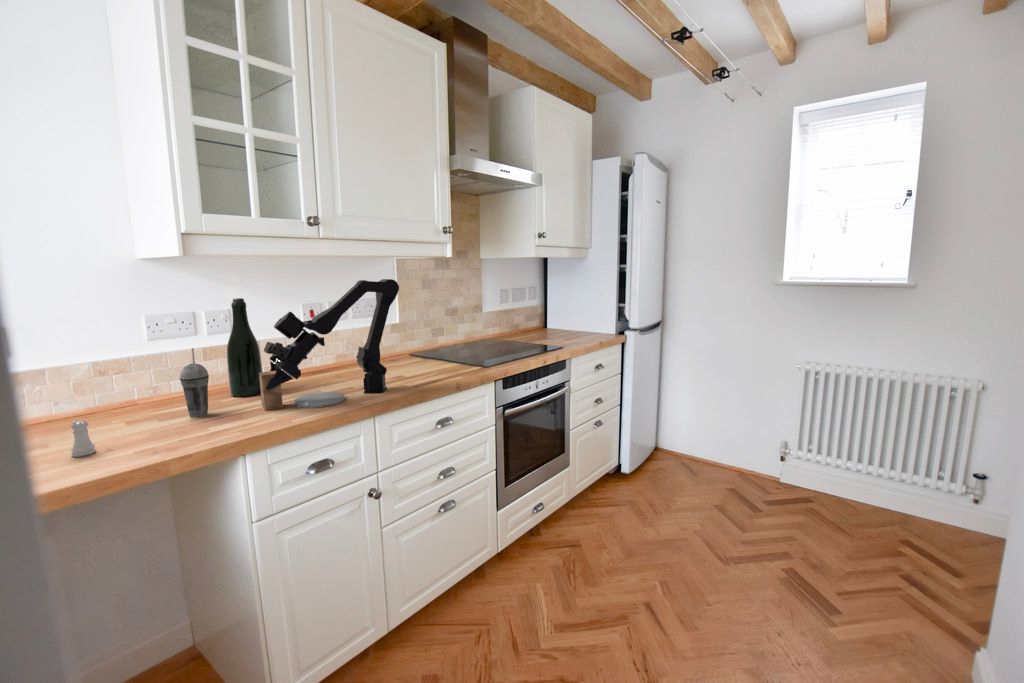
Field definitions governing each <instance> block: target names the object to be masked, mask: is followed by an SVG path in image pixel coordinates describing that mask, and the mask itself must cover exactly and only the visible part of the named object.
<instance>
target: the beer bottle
mask: <svg viewBox="0 0 1024 683" xmlns="http://www.w3.org/2000/svg"><path fill="white" fill-rule="evenodd" d="M230 307H231V310H232V326H231V331H230V335H229V338H228V342H227V344H226V360H227V363H226V364H227V374H228V385H229V386H228V387H229V394H230V395H231V396H232V397H234V396H236V397H235V398H245V397H244V396H247V397H252V395H253V396H256V394H257V395H261V389H260V378H259V373H261V372H264V371H263V364H262V355H261V350H260V345H259V343H258V342H259V341H257V338H256V336H255V334H254V332H253V330H252V329H251V326H250V323H249V318H248V312H247V303H246V301H245V299H244V298H242V297H238V298H237V297H236V298H232V302H231V305H230Z"/></svg>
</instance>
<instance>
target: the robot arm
mask: <svg viewBox="0 0 1024 683" xmlns="http://www.w3.org/2000/svg"><path fill="white" fill-rule="evenodd" d="M399 290H400V285H399V283H398V282H397V281H396V280H395V279H389V278H383V279H380V280H379V281H373V280H371V281H369V280H366V279H365V280H364V279H363V280H362V279H360V280H358V281H356V283H355V284H354V285H353V286H352V287H351V288H350V289H348V291H347V292H345V293H344V295H342V296H341V297H340V298H339V299H338V300H337V301H336V302H335V303H334V304H333V305H331V306H330V307H329V308H327V309H325V310H323V311H322V312H319V313H318V314H317V315H315V316H314V317H312V319H310V320H304V321H302V320H301V319H299V317H297V316H296V315H295V314H294V313H293V312H292V311H288V312H287V313H286V314H284V315H283V316H282V317H280V318H279V319H278V320H276V323H275V324H274V325H273V328H274V329H275V330H277V331H279V333H281V334H282V335H283V336H285V337H286V338H287V339H288V340H290V339H292V338H293V339H294V341H293V342H292V343H291V344H287V345H286V346H283V343H280V342H279V341H276V342H275V343H274V342H270V341H266V344H265V346H264V348H263V352H264V353H266V354H269V355H271V356H270V357H269V359H268V360H270V361H269V363H270V370H269V371H276V373H275V374H274V376H273V378H272V379H271V381H270V382H269V384H268V385H267V387H266V389H267V390H271V389H273V388H275V387H277V386H279V385H281V386H282V384H285V383H287V382H289V381H291V380H294V379H296V380H298V379H299V378H300V377H301V375H302V370H301V369H299V365H300V364H301V363H302V362H303V361H304V360H307V359H308V355H309V354H310V353H311V352H312V350H314V349H315V347H316V346H317V345H318V344H319V345H320V346H322V347H325V346H326V345H325V337H322V336H321V337H320V336H318V335H319V334H320V335H328V334H330V333H331V332H332V331H333V329H334V328H335V327H336V325H337V324H338V322H339V321H340V319H341V318H342V316H343V315H344V314H345V313H346V312H347V311H348V310H349V309H351V307H352V306H353V305H354V304H356V303H357V302H358V301H359V300H360V299H361V298H362V297H363V296H365V294H366V293H375V301H376V303H375V304H376V305H375V309H374V312H373V316H372V320H371V324H370V328H369V331H368V336H367V340H366V341H365V344H364V345H363V346H362V347H361V346H358V352H357V355H356V356H355V358H356V363H357V365H358V366H359V367H360V368H361V369H362V370H363V372H364V373H365V374H364V377H363V380H362V381H363V393H364V394H379V393H380V394H382V393H384V392H385V391H386V390H388V386H386V385H387V384H386V373H387V371H388V370H387V369H388V368H386V366H385V365H383V364H382V363H381V348H380V346H381V345H380V344H381V341H382V338H383V334H384V330H385V326H386V322H387V319H388V315H389V311H390V307H391V305H393V302H394V301H395V300H396V298H397V296H398V293H399ZM306 329H307V330H306ZM309 330H310V332H309ZM311 331H312V332H311ZM316 333H317V334H318V335H317V334H316Z"/></svg>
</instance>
